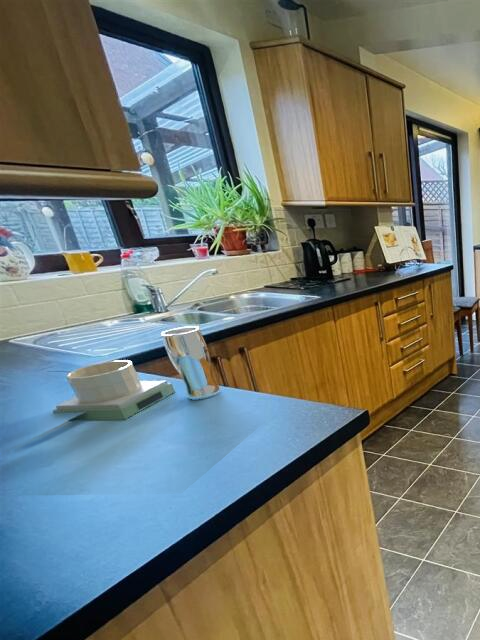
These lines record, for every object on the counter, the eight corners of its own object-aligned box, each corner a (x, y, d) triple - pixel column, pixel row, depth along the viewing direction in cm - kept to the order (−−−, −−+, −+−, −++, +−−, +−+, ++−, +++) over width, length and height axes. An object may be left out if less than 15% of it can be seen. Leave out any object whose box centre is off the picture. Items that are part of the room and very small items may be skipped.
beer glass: (199, 402, 87) (173, 336, 81) (178, 398, 89) (151, 334, 83) (229, 389, 93) (207, 327, 87) (209, 386, 95) (186, 325, 89)
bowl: (64, 403, 81) (51, 378, 79) (110, 383, 90) (100, 360, 88) (112, 402, 81) (100, 377, 79) (153, 382, 90) (144, 359, 88)
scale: (58, 421, 81) (50, 407, 80) (116, 393, 93) (110, 380, 92) (125, 419, 81) (119, 405, 79) (176, 392, 93) (171, 379, 91)
